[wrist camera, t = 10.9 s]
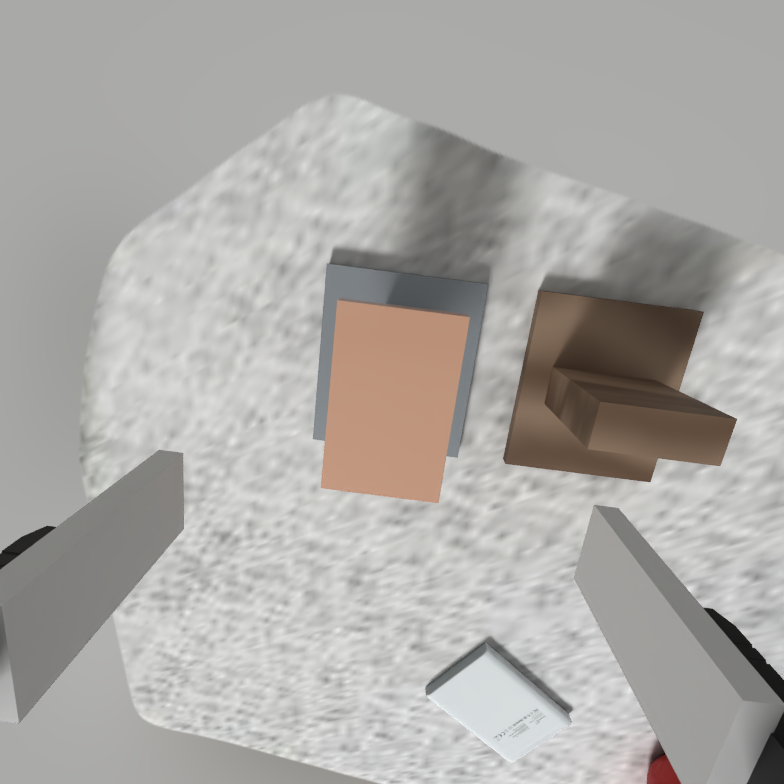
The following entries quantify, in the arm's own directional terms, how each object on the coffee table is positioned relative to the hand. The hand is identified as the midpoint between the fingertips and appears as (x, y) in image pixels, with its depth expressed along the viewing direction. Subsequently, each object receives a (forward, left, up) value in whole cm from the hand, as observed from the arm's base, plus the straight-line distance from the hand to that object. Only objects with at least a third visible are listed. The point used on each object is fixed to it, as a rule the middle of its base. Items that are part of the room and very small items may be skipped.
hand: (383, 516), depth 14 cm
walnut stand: (0, -16, -23) cm, 28 cm away
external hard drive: (-33, -14, -23) cm, 43 cm away
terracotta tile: (0, 0, -13) cm, 13 cm away
